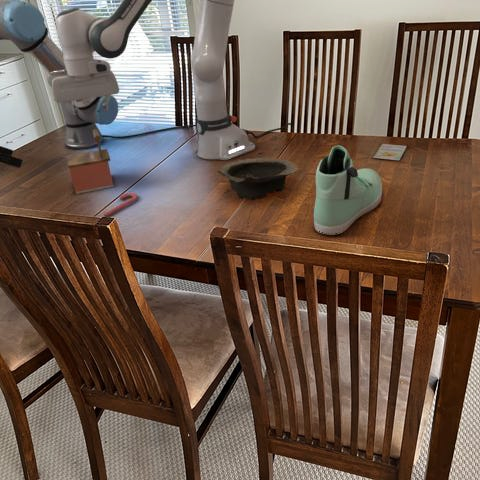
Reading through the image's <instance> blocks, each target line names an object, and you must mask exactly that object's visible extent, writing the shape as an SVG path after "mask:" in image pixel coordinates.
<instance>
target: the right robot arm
mask: <svg viewBox="0 0 480 480" xmlns="http://www.w3.org/2000/svg"><path fill="white" fill-rule="evenodd" d="M153 1H154V0H121V1H120V3H119V4H118V6H117V7H116V9H115V10H114V11H113V13H112V14H111V15H110V16H109V17H107V18H106V17H101V16H97V15H93V14H91V13H89V12H87V11H84V10H82V9H81V8H80V7H72V8H68V9H66V10H62V11H61V12H59V13H58V14H57V15H56V17H55V29H56V34H57V38H58V42H59V45H60V48H61V49H62V50H61V51H62V52H63V59H64V63H65V67H66V69H65V70H59V71H52V72H51V73H49V72H48V74H47V76H46V77H47V79H46V80H47V82H48V85H49V86H50V87H51V90H52V97H53V100H54V102H55V103H57V104H60V103H61V102H67V104H68V106H69V107H70V108H71V109H72V110H73V113H74V115H77V114H78V110H77V108H74V107H73V106H72V105H71V104H72V101H74V100H80V99H87V98H94V97H100V96H104V97H105V99H106V101H105V103H104V104H102V105H103V109H104V110H108V105H107V104H108V102H109V99H110V98H109V95H112V96H113V95H118V94H119V93H120V87H119V83H118V81H117V77H116V76H115V73H114V72H113V71H112V70H111V64H110V62H108V61H107V60H103V59H96V58H94V52H95V53H96V54H97V55H98V56H100V57H102V58H105V59H109V60H110V59H117V58H118V57H120V56H121V55H122V54H124V52H125V50H126V48H127V45H128V42H129V41H128V40H129V37H130V34H131V32H132V30H133V28H134V27H135V25H136V24H137V23H138V21H139V19H140V18H141V17H142V15H143V14H144V12H145V11H146V9H147V8H148V6H149V5H150V4H151V3H152V2H153ZM234 5H235V0H199V5H198V6H199V7H198V12H197V17H196V18H197V19H196V26H195V34H194V41H193V49H192V50H191V53H190V67H191V73H192V82H193V89H194V90H193V92H194V101H195V108H196V116H197V117H196V124H197V126H196V130H197V133H198V147H197V153H196V154H197V157H199V158H201V159H205V160H221V161H228V160H230V159H233V158H236V157H238V156H241V155H244V154H246V153H249V152H251V151H255V150H256V145H255V143H254V142H252V141H250V139H249V136H250V135H252V137H253V138H256V139H258V138H259V139H260V138H261V137H263V136H265V135H267V134H269V133H273V132H276V131H280V130H284V129H287V127H288V126H289V125H290V126H293V123H291V122H288V123H286V125H284V126H281V127H278V128H273V129H269V130H267V131H264V132H263V133H261V134H259V135H255V133H254V132H252V131H249V130H248V129H245V128H241V127H240V126H237V125H236V124H234V123H236V122H237V120H238V117H237V116H234V115H231V114H229V113H228V110H227V97H226V88H225V79H224V68H225V62H226V54H227V47H228V42H229V41H228V40H229V33H230V27H231V21H232V17H233V10H234ZM51 74H52V75H51Z"/></svg>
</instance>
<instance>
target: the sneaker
mask: <svg viewBox="0 0 480 480" xmlns="http://www.w3.org/2000/svg"><path fill="white" fill-rule="evenodd" d="M317 165H318V166H317V168H316V172H315V201H314V207H313V225H314V229H315V231H316V232H318V233H320V234H323V235H326V236H327V235H328V236H336V235H339V234H342V233H344V232H345V231H347V230H348V229H349V228H350V227H351V226H352V225H353V224H354V222H356V221H357V220H358V219H359V218H360V217H362V216H363V215H365V214H367V213H370V212H372V210H374V209H375V208H377V207H378V205H380V203H381V200H382V196H383V184H382V183H383V182H382V179H381V176H380V175H379V173H378V172H377V171H376V170H374V169H372V168H367V167H365V168H358V169H357V168H355V167H354V161H353V159H352V158H351V156H350V153H349V152H348V150H347V148H345V147H344V146H342V145H334V146H333V147H331V149H330V151H329V154H327V155H326V156H325V157H324V158H322V159H321V160H320V161H319V163H318V164H317ZM343 230H344V231H343ZM319 231H320V232H319ZM322 232H323V233H322ZM339 232H340V233H339ZM326 233H327V234H326ZM328 233H329V234H328ZM335 233H337V234H335Z"/></svg>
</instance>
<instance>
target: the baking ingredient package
mask: <svg viewBox="0 0 480 480" xmlns="http://www.w3.org/2000/svg"><path fill="white" fill-rule="evenodd" d="M406 149H407V145H398V144H391V143H390V144H389V143H382V144H381V145H380V147H379V149H378V150H377V152H376V153H375V155H374V156H373V158H374V159H381V160H390V161H400V160H401V158H402V156H403V155H404V152H405V150H406Z"/></svg>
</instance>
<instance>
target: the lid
mask: <svg viewBox="0 0 480 480" xmlns="http://www.w3.org/2000/svg"><path fill="white" fill-rule="evenodd" d="M93 135H94V139H95V141H97V149H98V150H92V151H88V152H82V153H76V154H70V155H67V166H68V169H69V168H73V167H79V166H84V165H90V164H95V163H101V162H106V161H108V162H110V161H111V156H110V153H109V151H108V148H105V149H102V148H101V144H100V142H99V141H100V135H99V132H98V130H97V129H94V130H93Z"/></svg>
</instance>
